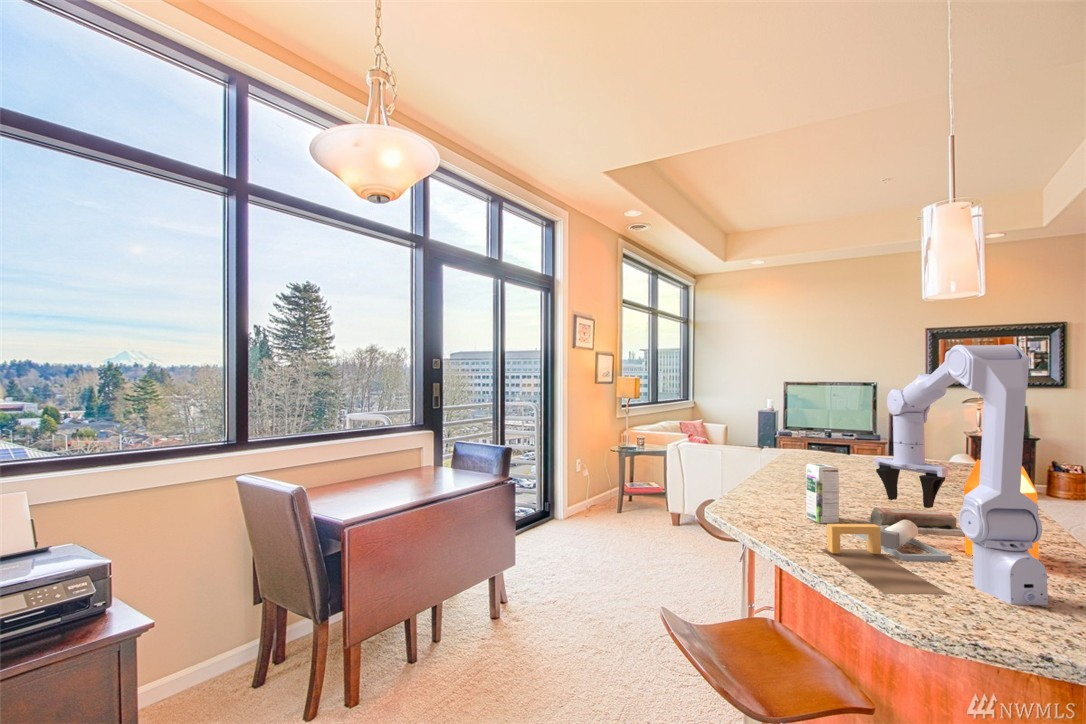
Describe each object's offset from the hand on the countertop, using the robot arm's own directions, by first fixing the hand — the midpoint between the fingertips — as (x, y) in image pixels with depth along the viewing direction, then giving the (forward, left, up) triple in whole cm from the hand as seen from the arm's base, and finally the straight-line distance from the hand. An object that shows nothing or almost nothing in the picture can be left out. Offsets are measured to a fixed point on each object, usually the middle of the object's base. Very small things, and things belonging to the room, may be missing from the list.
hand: (909, 503), depth 114 cm
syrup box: (+19, +10, -10) cm, 24 cm away
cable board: (-17, +18, -9) cm, 26 cm away
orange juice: (-8, -13, -10) cm, 18 cm away
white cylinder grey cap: (-4, +5, -8) cm, 10 cm away
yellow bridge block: (-9, +17, -8) cm, 21 cm away
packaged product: (+13, -10, -10) cm, 19 cm away
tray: (-4, +5, -9) cm, 11 cm away
